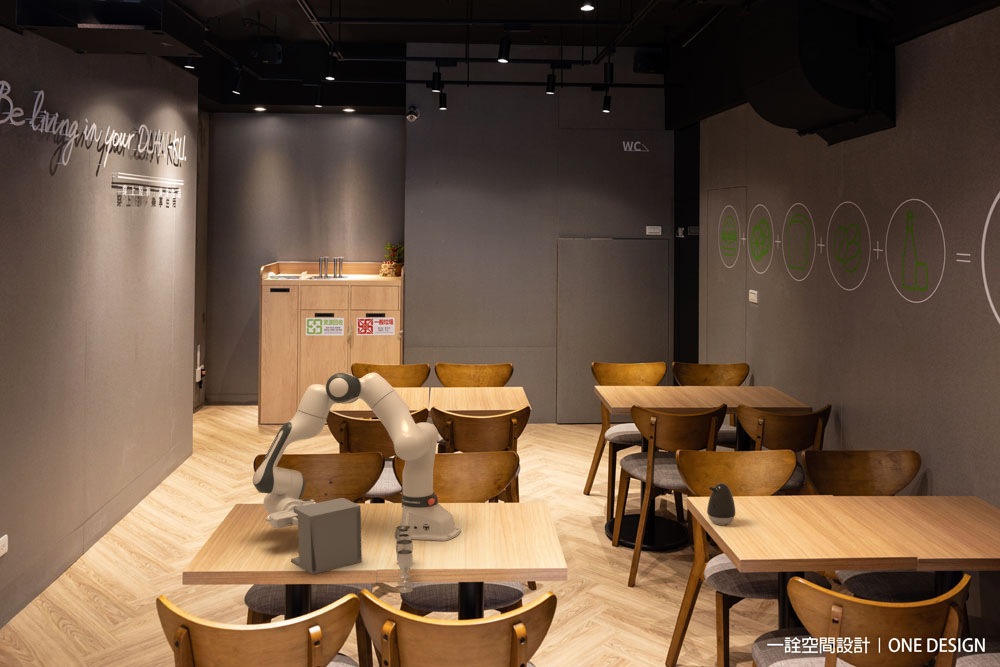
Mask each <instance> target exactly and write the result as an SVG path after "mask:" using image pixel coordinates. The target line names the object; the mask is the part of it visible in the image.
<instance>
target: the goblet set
mask: <svg viewBox="0 0 1000 667" xmlns="http://www.w3.org/2000/svg"><path fill="white" fill-rule="evenodd" d="M411 538H412V531H411V528H410V526H406V525H402V526H400V525H398V526H396V527H395V531H394V540H395V541H396V545H395V551H396V555H397V556H396V560H397V562H396V565H398V572H403V573H400V574H398V578H400V581H402V582H399V581H398V582H397V584H398V585H399V586H402V587H400V588H398V592H400V593H402V594H405V593H411V592H413V590H414V589H413V587H410V585H413V580H411V579H408V578H410V577H411V576H412V574H410V573H408V572H409V571H411V567H412V565H413V560H414V555H413V551H414V545H413V541H412V539H411ZM399 568H400V569H399ZM401 579H402V580H401Z"/></svg>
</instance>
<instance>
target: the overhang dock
mask: <svg viewBox="0 0 1000 667" xmlns="http://www.w3.org/2000/svg"><path fill="white" fill-rule="evenodd" d="M361 509H362V508H361V505H360V504H358V503H355V502H353V501H351V500H349V499H348V498H347V499H346V498H345V497H339V498H334V499H329V500H326V501H325V500H324V501H319V502H316V503H314V504H310V505H305V506H300V507H295V508H294V513H296V514H298V525H297V528H298V529H297V531H298V532H297V533H298V534H297V535H298V556H297V557H293V558H291V559H290V561H291V562H290V563H293V564H295V565H296V566H297V567H299V568H300V569H302V570H304V571H306V572H307V573H309V574H310V575H316V574H320V573H323V572H327V571H331V570H335V569H339V568H343V567H346V566H347V567H348V566H350V565H355V564H359V563H362V562H363V559H362V558H363V556H362V519H361V518H362V517H361V516H362V515H361V511H362V510H361Z"/></svg>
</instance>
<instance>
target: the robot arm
mask: <svg viewBox="0 0 1000 667" xmlns="http://www.w3.org/2000/svg"><path fill="white" fill-rule="evenodd" d="M399 394H400V393H398V392H397V391H396V389H394V386H392V385H391V384H390V382H388V381H387V380H386V379H385V378H384V377H383V376H381V375H380V374H379V373H377V372H369V373H367V374H365V375H364V376H362V377H360V378H358V377H357V376H356V375H353V374H350V373H348V372H337V373H334V374H333V375H331V376H330V377H329V378H328V379H327V380H326V384H320V383H314V384H313V383H312V384H310V385H309V386H308V387H307V389H306V390H305V392H304V394H303V395H302V397H301V399H300V402H299V404H298V407H297V410H296V412H295V414H294V415H293V416H292V418H291V419H290V420H289V421H287V422H285V423H284V424H282V425H281V427H280V429H279V430H278V432H277V434H276V435H275V437H274V439H273V441H272V443H271V445H270V446H269V449H268V450H267V452H266V455H265V456H264V458H263V460H262V462H261V463H260V464H259V465H258V467H257V468H256V470H255V472H254V474H253V477H252V483H253V486H254V487H255V490H257V492H258V493H260V494H266V495H265V497H264V498H263V507H264V509H265V511H266V512H267V514H269V515H267V516H266V517H265V518H264V520H265V522H269V525H270V526H271V527H272V528H273V529H282V528H287V527H291V526H298V514H296V513H294V508H295V507H300V506H305V505H310V504H314V503H317V502H315V499H311V498H310V499H308V498H307V499H301V498H302V497H303V495H304V492H305V489H306V481H305V478H304V475H303V473H302V472H301V471H298V470H294V469H291V468H290V469H289V468H285V467H280V466H278V464H279V462H280V460H281V458H282V456H283V455H284V452H285V450H287V447H288V446H289V445H290V444H292V443H294V442H296V441H302V440H308V439H311V438H315V437H317V436H318V435H319V434H321V433H322V431H323V430H324V428H325V425H326V422H327V419H328V417H329V413H330V410H331V408H332V407H333V405H335V404H342V405H343V404H345V405H346V404H353V403H354V402H357V400H359V399H360V400H362V401H363V402H364V403H365V404H366V405H367V407H369V409H370V410H371V411H372V412H373V413H374V415H375V416H376V417H377V418H378V420H379V421H380V422H381V424H382V425H383V427H384V428H385V430H386V431H387V434H388V436H389V437H390V439H391V441H392V443H393V449H394V452H395V455H397V457H398V458H399V459H401V460H403V461H404V467H403V470H402V476H401V477H402V493H401V508H402V509H401V510H402V512H401V520H400V525H399V526H402V525H406V526H410V528H411V531H412V538H411V540H421V541H422V540H424V541H425V540H426V541H440V542H442V541H449V540H451V539H454V538H456V537H457V536H458V535H460V534H461V526H459V525H458V526H457V525H455V520H454V519H455V518H454V516H453V514H452V513H451V512H449V511H448V510H447V509H446V508H444V506H442V505H441V504H440V503H439V502H438V499H440V494H438V495H437V494H435V492H434V465H435V458H436V453H437V452H436V451H437V444H438V440H439V430H438V429H437V427H436V426H435V425H434V424H432V423H430V422H424V421H423V422H418V423H416V422H415V420H414V418H413V416H412V414H411V412H410V407H409V405H408V404H407V403H406V402H405V400H404V398H402V397H401V396H400V395H399Z"/></svg>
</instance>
